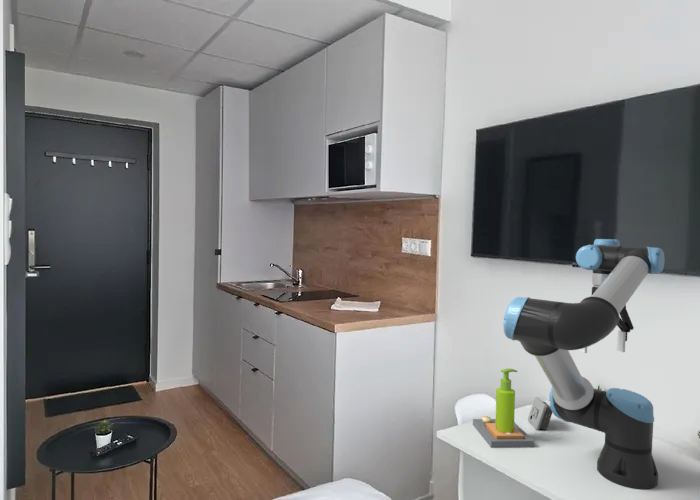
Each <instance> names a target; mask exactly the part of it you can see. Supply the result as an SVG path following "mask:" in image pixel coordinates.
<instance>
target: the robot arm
mask: <svg viewBox="0 0 700 500" xmlns="http://www.w3.org/2000/svg"><path fill="white" fill-rule="evenodd" d="M620 242H621V241H620V240H619V239H611V238H607V239H606V238H596V239H595V240H594V241H593V244H587V245H583V246H581V247H580V248H579V249H578V250H577V252H576V253H575V260H576V263H577V265H578V266H579V267H580V268H582V269H583V270H587V271H592V281H591V284H592V287H591V295H590V296H586V297H585V298H583V299H582V300H581V301H580V302H574V303H573V302H563V301H556V300H555V301H554V300H547V299H539V298H538V299H537V298H531V297H529V296H527V297H522V296H521V297H520V296H518V297H515V298H513V299H512V300H511V301H510V303H509V304H508V305H507V307H506V310H505V312H504V317H503V325H502V326H503V333H504V335H505V337H506V338H507V339H509V340H511V341H517V342H519V343H520V345H521V346H522V348H523V349H524V351H526V352H527V353H528V354H530V355H531V356H534V357H535V359H536V360H537V362H538V364H539V366H540V367H541V369H542V372H543V373H544V375H545V376H546V378H547V380H548V381H549V383H550V385H551V388H550V391H549V397H548V398H549V399H548V401H549V402H550V403H549V406H550V408H551V411H552V415H554V416H555V417H556V418H557V419H560V420H562V421H564V422H567V423H572V424H576V425H578V426H582V427H585V428H588V429H592V430H595V431H598V432H601V433H603V434H604V444H603V447H602V449H601V451H600V454H599V457H598V458H597V461H596V470H597V472H598V473H599V474H600V475H601V476H602V477H604V478H605V479H606V480H608V481H610V482H613V483H615V484H618V485H621V486H624V487H628V488H633V489H641V490H643V489H646V490H647V489H652V488H654V487H657V485H658V484H659V473H658V469H657V467H656V464H655V460H654V456H653V452H652V451H653V437H654V422H655V416H654V405H653V403H652V402H651V400H649V399H648V398H647V397H645V396H644V395H642V394H640V393H637V392H635V391H632V390H629V389H625V388H620V387H619V388H618V387H611V388H609V389H607V391H605V390H601V389H596V388H594V386H593V384H592V383H591V382H590V381H589V379H587V378H586V377H584V376H582V374H581V373H580V370H579V369H578V366H577V364H576V363H575V361H574V359H573V357H572V355H571V353H570V351H576V350H579V352H581V353H584V354H587V353H588V348H589V347H591V346H592V345H595V344H597V343H599V342H600V341H602V340H604V339H605V338H606V337H607V336H609V335H610V334H611V333H612V332H613V331H614V330H615V328H616V327H617V328H619V330H617V336H616V337H617V339H616V350H617V352H621V353H626V342H627V341H628V333H630V332H631V331H633V330H634V329H635V327H634V325H633V323H632V321H631V318H630V316H629V313H628V310H627V304H628V302H629V301H630V299H631V298H632V297H633V295H634V293H635V292H636V291H637V289H638V288H639V287H640V285H641V283H642V282H643V280H644V279H645V278H646V277H647V275H648V274H650V275H653V274H654V275H658V274H661V273H662V272H663V270H664V269H665V268H664V267H665V262H666V261H665V258H666V257H665V252H664V250H663V249H662V248H659V247H653V246H629V245H628V246H627V245H625V246H623V245H621V243H620Z"/></svg>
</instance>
